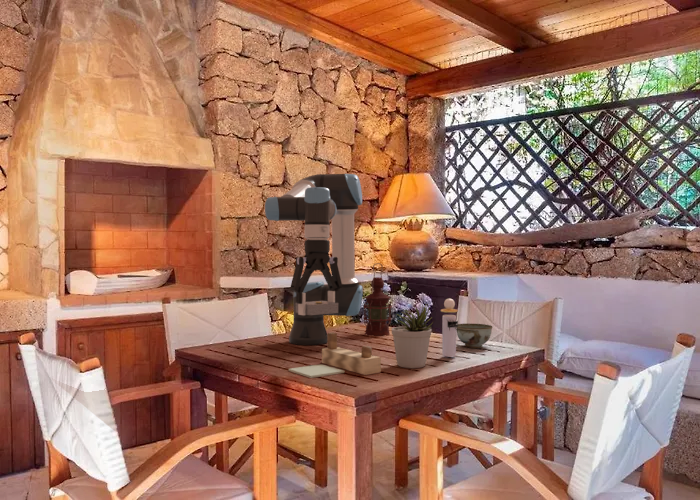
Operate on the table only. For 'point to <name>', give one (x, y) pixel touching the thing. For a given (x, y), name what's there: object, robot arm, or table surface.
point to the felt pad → (316, 370)
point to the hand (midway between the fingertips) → (316, 313)
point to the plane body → (350, 357)
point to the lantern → (377, 309)
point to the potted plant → (412, 340)
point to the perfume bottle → (449, 329)
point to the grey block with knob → (319, 307)
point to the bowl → (474, 334)
